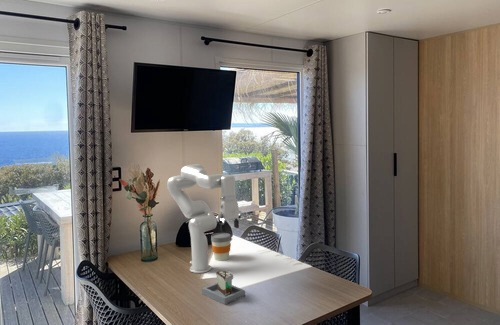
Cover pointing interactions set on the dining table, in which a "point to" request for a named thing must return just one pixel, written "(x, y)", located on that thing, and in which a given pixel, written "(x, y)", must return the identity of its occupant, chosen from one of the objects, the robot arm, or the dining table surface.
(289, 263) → the dining table surface
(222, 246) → the reusable coffee cup
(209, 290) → the tray
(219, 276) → the food container
